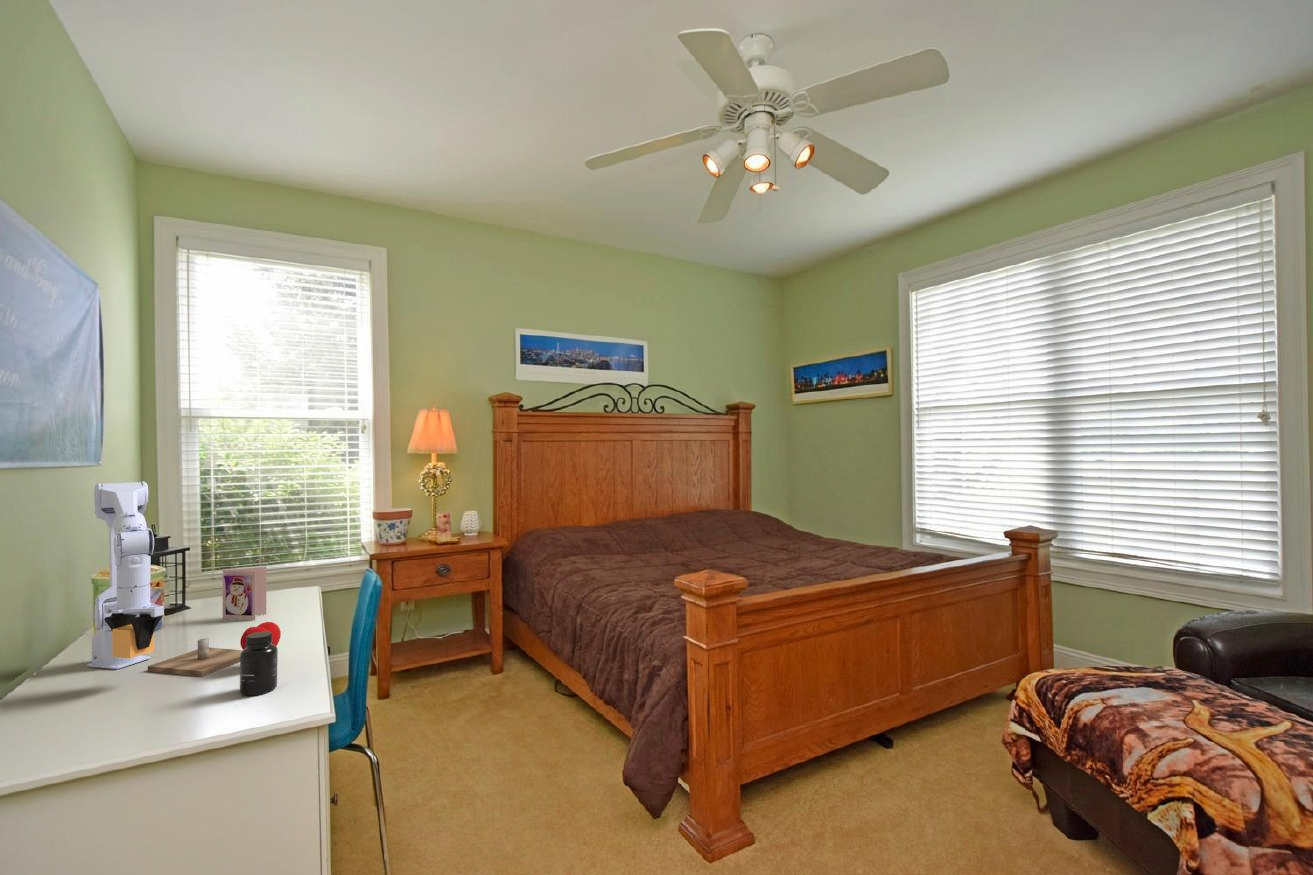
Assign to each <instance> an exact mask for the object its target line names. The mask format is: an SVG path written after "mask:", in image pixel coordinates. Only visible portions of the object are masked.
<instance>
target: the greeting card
mask: <svg viewBox="0 0 1313 875" xmlns="http://www.w3.org/2000/svg"><path fill="white" fill-rule="evenodd" d="M261 614H266V615H267V566H259V567H246V568H236V569H235V568H233V569H223V570H222V620H228V619H241V620H240V621H252V620H255V621H256V616H255V615H258V616H262V615H261Z"/></svg>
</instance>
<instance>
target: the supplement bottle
mask: <svg viewBox="0 0 1313 875" xmlns="http://www.w3.org/2000/svg"><path fill="white" fill-rule="evenodd" d="M272 638H273V634H272V632H257V633H252V634H249V635H248V636H246V646H247V647H246V648H245V649H244V650H243V649H242V650H243V651H242V652H241V654H240V662H239V694H240V695H242V696H245V697H257V696H261V695H265V694H268V693H270V692H272V691H274V690H276V688H277V686H278V664H279V663H278V662H279V661H278V660H279V659H278V658H279V657H278V654H279V651H278V647H277V646H275V645H274V644H271V643H272V642H273V639H272Z"/></svg>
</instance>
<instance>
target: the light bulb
mask: <svg viewBox="0 0 1313 875" xmlns="http://www.w3.org/2000/svg"><path fill="white" fill-rule="evenodd" d="M257 632H272V634H273V638H272V639H273V642H272V643H271V644H274V645H275V646H276V647H277V646H278V644H279V643H280V640H281V634H282V633H281V628H280V627H279V625H278V624H276V623H275V622H273V621H265V622H261V623H260V624H258V625H257V626H250V627H248V628H246V629H245V630H244V632H243V633H242V636H241V638H240V647H241V650H244V649H245V648H246V647H247V646H246V636H248V635H249V634H252V633H257Z"/></svg>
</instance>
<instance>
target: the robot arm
mask: <svg viewBox="0 0 1313 875" xmlns="http://www.w3.org/2000/svg"><path fill="white" fill-rule="evenodd" d="M93 490H94V491H93V493H94V494H93V497H94V499H93V500H94V503H93V504H94V514H95V517H96V518H97V519H100V520H101V521H102V520H103V521H105V523H106V527H107V529H108V546H109V547H108V551H109V553H108V554H109V559H108V560H109V587H107V588H106V589H105V590H104V591H102V592H101V593H99V594H98V595H97V596H96V598H95V601H94V602H95V603H94V604H95V605H94V626H95V627H96V628H97V630H96V631H95V632H94V634H93V635H92V639H91V663H88V664H87V667H90V668H98V669H99V668H100V669H111V670H118V669H122V668H125V667H128V666H130V665H135V664H137V663H140V662H143V661H146V660H149V659H151V658H152V657H151V656H149V655H139V656H136V657H133V658H120V657H112V650H113V629H115V628H119V627H122V626H126V625H130V624H132V626H133V629H134V632H135V639H136V646H137V649H138V650H141V649H144V648H147V647H149V646H150V642H151V639H152V636H153V633H154V634H155V630H156V628H157V626H158V624H159V623H160V622H161V620H162V618H163V616H164V614H165V613H164V612H165V611H164V610H165V606H164V605H159V604H155V603H153V602H151V581H152V580H151V576H152V575H151V568H152V567H151V563H152V562H151V559H152V558H151V556H153V553H154V548H155V538H154V533H153V530H152V529H151V528H149V527H148V524H147V521H146V517H145V516H144V513H145V511H146V509H147V504H148V503H149V486H148V483H147V482H146V481H143V480H142V481H141V482H140V481H138V482H137V481H135V482H132V481H131V482H113V483H112V482H111V483H110V482H107V483H101V482H98V483H96V484H95V485H94V488H93ZM96 518H95V519H96ZM149 554H150V555H149Z"/></svg>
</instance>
